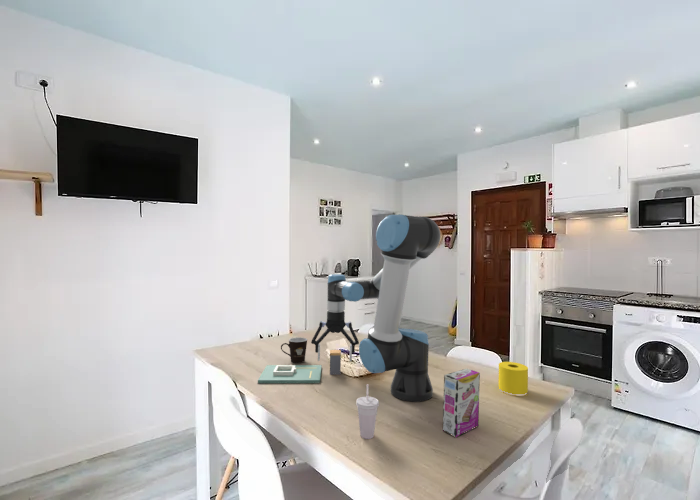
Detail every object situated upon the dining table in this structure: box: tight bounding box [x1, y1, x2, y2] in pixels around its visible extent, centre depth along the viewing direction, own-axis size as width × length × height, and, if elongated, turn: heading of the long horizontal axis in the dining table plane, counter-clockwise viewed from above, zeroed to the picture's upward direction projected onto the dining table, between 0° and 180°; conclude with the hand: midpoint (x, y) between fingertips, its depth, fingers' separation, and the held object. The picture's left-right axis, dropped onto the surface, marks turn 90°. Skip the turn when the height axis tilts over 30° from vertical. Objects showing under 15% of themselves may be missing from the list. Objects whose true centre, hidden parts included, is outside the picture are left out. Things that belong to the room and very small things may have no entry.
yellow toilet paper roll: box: [498, 361, 529, 394], centre depth 131 cm, size 10×10×9 cm
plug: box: [329, 349, 342, 376], centre depth 148 cm, size 4×4×9 cm
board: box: [257, 364, 322, 384], centre depth 145 cm, size 18×24×3 cm
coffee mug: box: [280, 336, 308, 364], centre depth 164 cm, size 12×9×10 cm
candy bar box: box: [442, 368, 481, 438], centre depth 102 cm, size 11×5×16 cm, turn 127°
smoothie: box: [355, 383, 380, 440], centre depth 98 cm, size 6×6×14 cm
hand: (334, 360), depth 149 cm, fingers open, 13 cm apart
